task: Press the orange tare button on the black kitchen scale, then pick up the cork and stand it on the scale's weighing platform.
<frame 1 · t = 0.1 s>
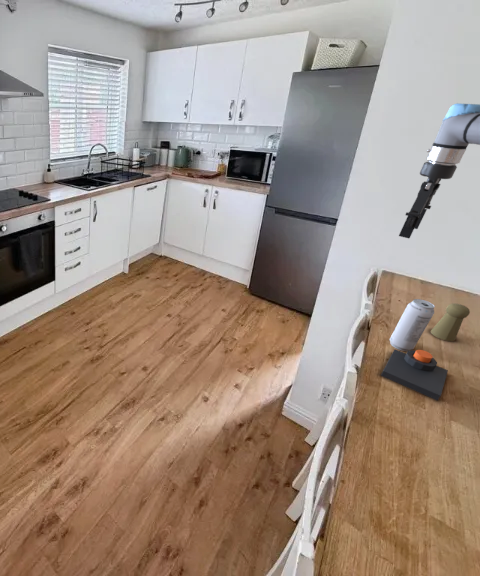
hand: (408, 232, 117), 28 cm above the table, tool pointing down, fingers open, 13 cm apart
tare button: (422, 356, 100), point 4 cm above the table, slide at 0.2 cm
cork: (442, 335, 116), on the table
scale: (412, 375, 99), on the table
energy drink can: (399, 346, 110), on the table
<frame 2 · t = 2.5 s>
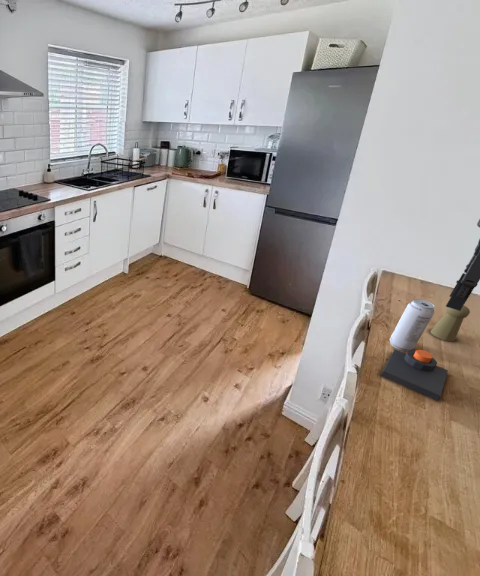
hand: (454, 302, 91), 21 cm above the table, tool pointing down, fingers open, 7 cm apart
nothing on the table moved.
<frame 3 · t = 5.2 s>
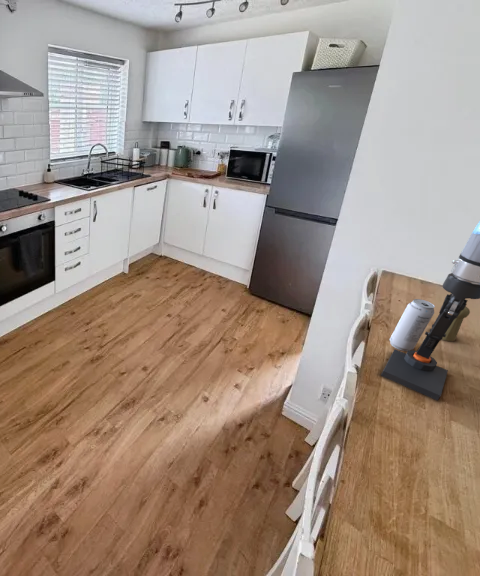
hand: (422, 355, 100), 4 cm above the table, tool pointing down, fingers closed
tare button: (421, 358, 100), point 3 cm above the table, slide at -0.6 cm, touching gripper
everything else where it was.
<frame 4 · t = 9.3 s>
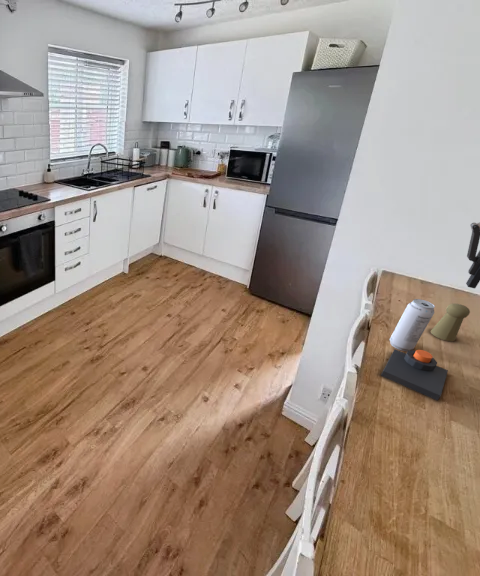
hand: (470, 285, 102), 20 cm above the table, tool pointing down, fingers closed
tare button: (422, 356, 100), point 4 cm above the table, slide at 0.2 cm
everything else where it was.
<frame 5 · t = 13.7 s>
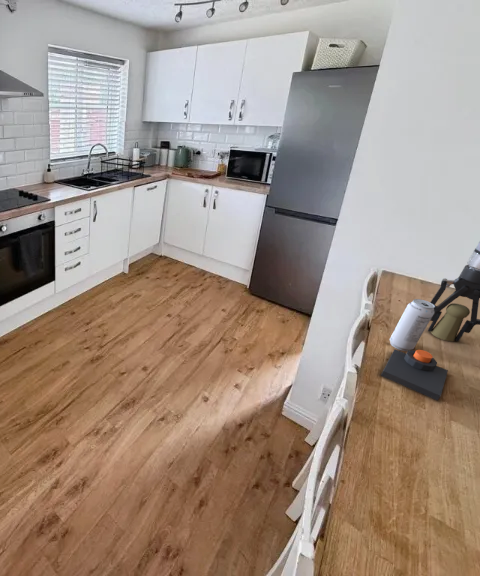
hand: (443, 334, 116), 0 cm above the table, tool pointing down, fingers closed on cork, 6 cm apart
cork: (442, 335, 116), on the table, touching gripper
everything else where it was.
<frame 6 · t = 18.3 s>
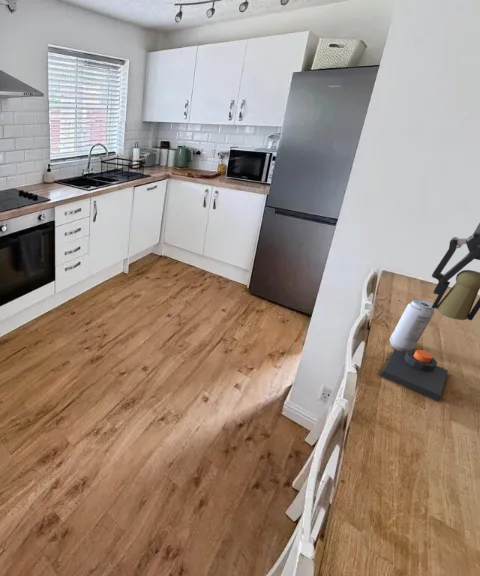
hand: (451, 311, 89), 20 cm above the table, tool pointing down, fingers closed on cork, 6 cm apart
cork: (450, 313, 89), point 20 cm above the table, touching gripper
everything else where it was.
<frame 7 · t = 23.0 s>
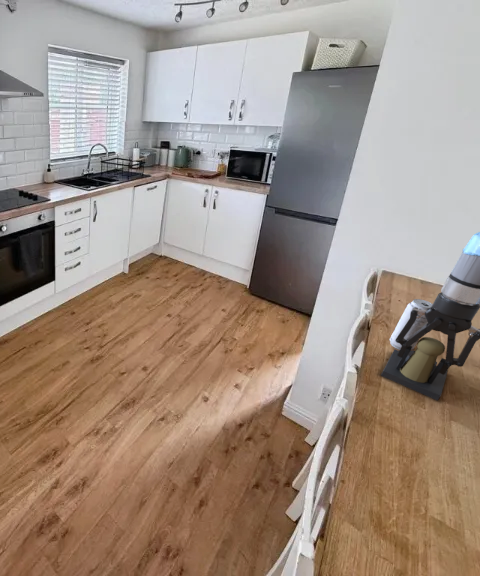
hand: (414, 373, 96), 2 cm above the table, tool pointing down, fingers closed on cork, 6 cm apart
cork: (413, 375, 97), point 2 cm above the table, touching gripper, scale
everything else where it was.
when the fingers open (2 cm above the table, at t = 23.0 s): cork stays where it is, resting on scale.
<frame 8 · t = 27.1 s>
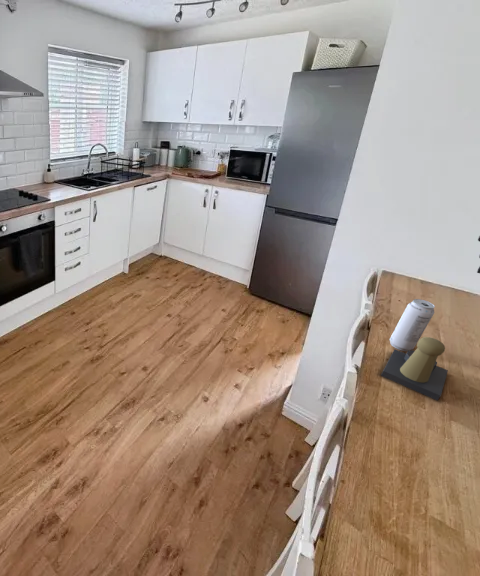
cork: (413, 375, 97), point 2 cm above the table, touching scale
everything else where it was.
at the end: tare button pushed in 1.0 cm at the most during the clip, back to 0.2 cm at the end; cork inside the target area on the scale (0.3 cm from its centre), point 1.5 cm above the scale's base; cork touching scale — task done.
